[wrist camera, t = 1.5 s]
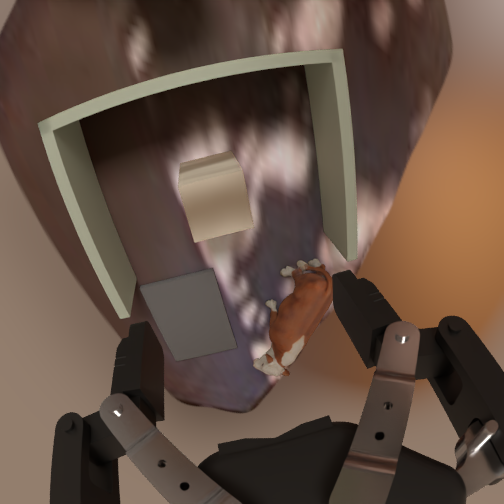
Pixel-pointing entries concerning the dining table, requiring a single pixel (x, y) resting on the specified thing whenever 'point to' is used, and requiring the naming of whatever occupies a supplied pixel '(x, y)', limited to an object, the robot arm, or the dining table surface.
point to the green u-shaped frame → (67, 122)
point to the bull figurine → (296, 316)
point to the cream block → (214, 196)
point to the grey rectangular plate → (190, 314)
